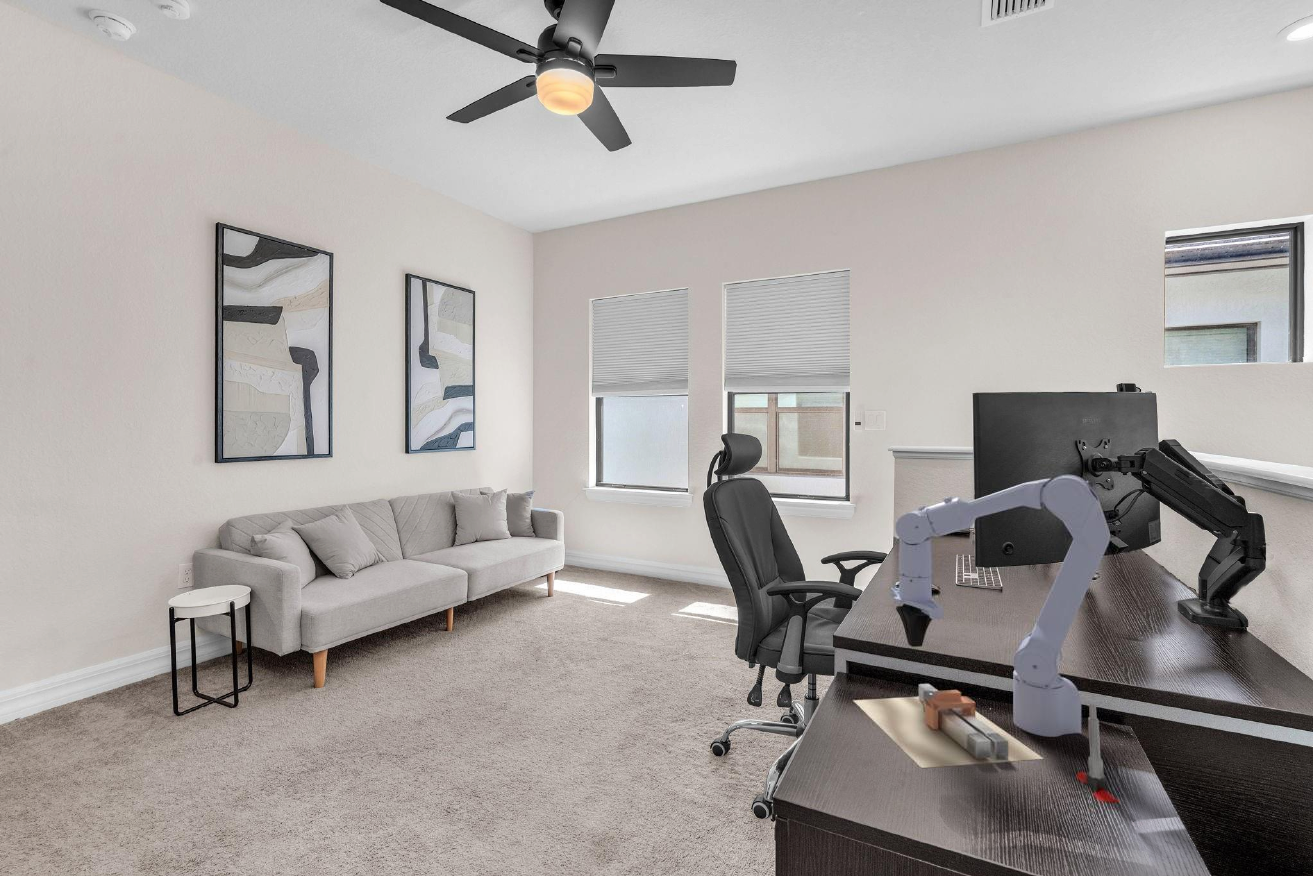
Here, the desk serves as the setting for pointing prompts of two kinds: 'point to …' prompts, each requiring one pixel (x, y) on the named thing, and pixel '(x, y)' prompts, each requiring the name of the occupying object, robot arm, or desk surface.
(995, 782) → the desk surface
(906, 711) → the board
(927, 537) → the robot arm
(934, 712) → the collar
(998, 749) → the tong base
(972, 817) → the desk surface
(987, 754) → the bar
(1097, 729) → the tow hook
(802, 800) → the desk surface
